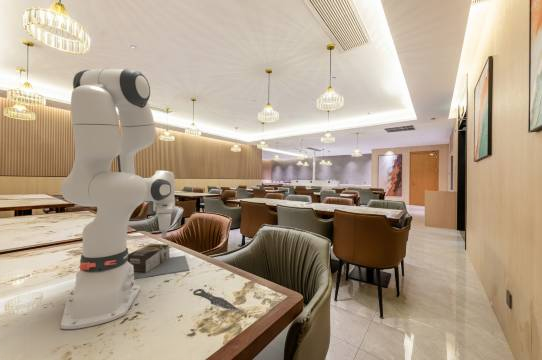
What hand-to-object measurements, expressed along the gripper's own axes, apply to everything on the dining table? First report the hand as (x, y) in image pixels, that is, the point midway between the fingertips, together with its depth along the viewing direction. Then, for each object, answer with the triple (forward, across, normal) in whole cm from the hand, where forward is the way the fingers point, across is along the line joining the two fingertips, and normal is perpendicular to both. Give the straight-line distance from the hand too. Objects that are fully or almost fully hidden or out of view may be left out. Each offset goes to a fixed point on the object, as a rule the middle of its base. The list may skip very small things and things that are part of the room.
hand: (164, 236), depth 103 cm
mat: (+10, +9, -1) cm, 14 cm away
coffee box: (+6, -2, -1) cm, 7 cm away
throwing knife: (+11, +43, +14) cm, 47 cm away
